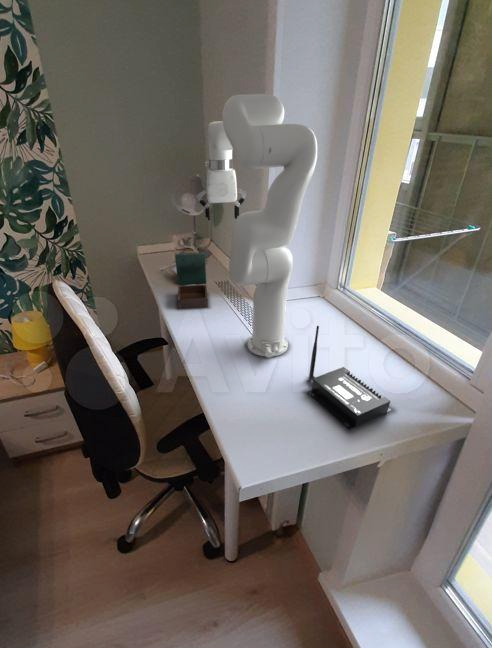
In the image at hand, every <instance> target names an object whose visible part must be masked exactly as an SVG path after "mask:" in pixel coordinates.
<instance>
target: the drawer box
mask: <svg viewBox="0 0 492 648" xmlns="http://www.w3.org/2000/svg"><path fill="white" fill-rule="evenodd" d="M207 287H208V285H207V284H196V285H190V286H185V285H178V287H177V308H178V310H188V309H190V310H191V309H204V308H209V298H208V289H207Z"/></svg>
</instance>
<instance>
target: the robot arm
mask: <svg viewBox="0 0 492 648" xmlns="http://www.w3.org/2000/svg"><path fill="white" fill-rule="evenodd" d="M221 119H222V120H221V121H220V120H217V121H211V122H210V123H209V124H208V125H207V136H208V137H207V138H208V139H207V140H208V161H205V162H204V167H207V168H209V169H207V173H206V188H204V189H203V190H201V191H200V192H198V193H197V194H196V195H195V196H196V199H197V200H198V202H199V204H200V205H201V206H202V207H204V211H205V212H204V213H205V218H206V219H207V221H211V210H210V206H211V204H225V203H233V204H234V206H233V208H234V209H233V214H234V215H233V216H234V218H235V220H234V223H233V226H232V232H231V243H230V253H229V263H228V264H229V265H228V270H229V271H228V272H229V276H230V279H231V281H232V282H233V284H234V285H236V286H238V287H249V286H254V285H256V286H255V289H254V292H253V304H252V336H250V337H249V338H248V339H247V343H246V345H247V348H248V350H249V352H251V353H252V354H254V355H258V356H260V357H266V358H268V359H270V358H272V357H278V356H280V355H283V354H284V353H285V352H286V351H287V350H288V348H289V343H288V340H287V338H285V337H284V336H285V322H286V310H287V308H286V307H287V298H288V288H289V283H290V279H291V276H292V271H293V268H294V257H293V254H292V252H291V251H290V249H288V247H287V245H290V244H291V242H292V241H293V239H294V238H295V234H296V230H297V227H298V226H297V225H298V222H299V218H300V214H301V209H302V206H303V200H304V197H305V194H306V191H307V189H308V187H309V184H310V182H311V180H312V177H313V175H314V172H315V170H316V166H317V160H318V140H317V137H316V134H315V133H314V131H313V130H312V128H310V127H308V126H306V125H303V124H297V123H283V122H284V119H285V108H284V104H283V103H282V101H281V99H280V98H278V97H277V96H275V95H273V94H269V93H251V94H249V93H247V94H246V93H244V94H243V93H242V94H235V95H231V96H230V97H229V98H228V99H227V100H226V101H225V103H224V106H223V109H222V118H221ZM233 151H234V153H235V156H236V158H237V160H238V162H239V163H240V165H241V166H242V167H244V168H246V169H250V170H257V169H258V170H259V169H270V168H281V167H283V169H282V170H281V171H280V173H278V175H277V176H276V177H275V178H274V180H273V182H271V184H270V186H269V188H268V189H267V190H268V191H267V193H266V200H265V205H264V207H263V208H262V209H259V210H250V211H246V212H243V213H241V214H240V207H241V206H242V204H243V203H244V202H245V200H246V197H247V195H248V193H247V191H245V190H243V189H241V188H239V187H238V184H237V183H238V182H237V174H236V169H235V168H233ZM238 194H240V195H241V196H240V198H239V199H238ZM205 195H206V201H204V199H203V196H205Z"/></svg>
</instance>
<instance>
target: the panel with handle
mask: <svg viewBox="0 0 492 648" xmlns="http://www.w3.org/2000/svg"><path fill="white" fill-rule="evenodd" d="M174 260H175V266H176V270H177V273H176V278H177V285H178V286H185V285H193V284H196V285H207V268H206V266H207V265H206V251H205V252H204V251H199V252H197V250H183V251H182V253H181V252H180V253H178V252H177V253H174Z"/></svg>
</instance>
